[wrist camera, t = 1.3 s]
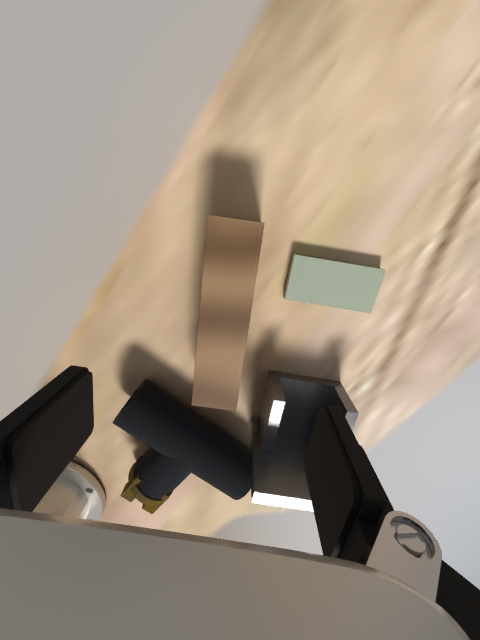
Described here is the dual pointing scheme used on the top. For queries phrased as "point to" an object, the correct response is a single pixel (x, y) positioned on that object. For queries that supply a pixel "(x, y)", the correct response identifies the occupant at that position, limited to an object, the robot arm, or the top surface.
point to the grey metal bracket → (289, 436)
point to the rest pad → (333, 283)
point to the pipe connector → (178, 449)
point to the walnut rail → (225, 309)
